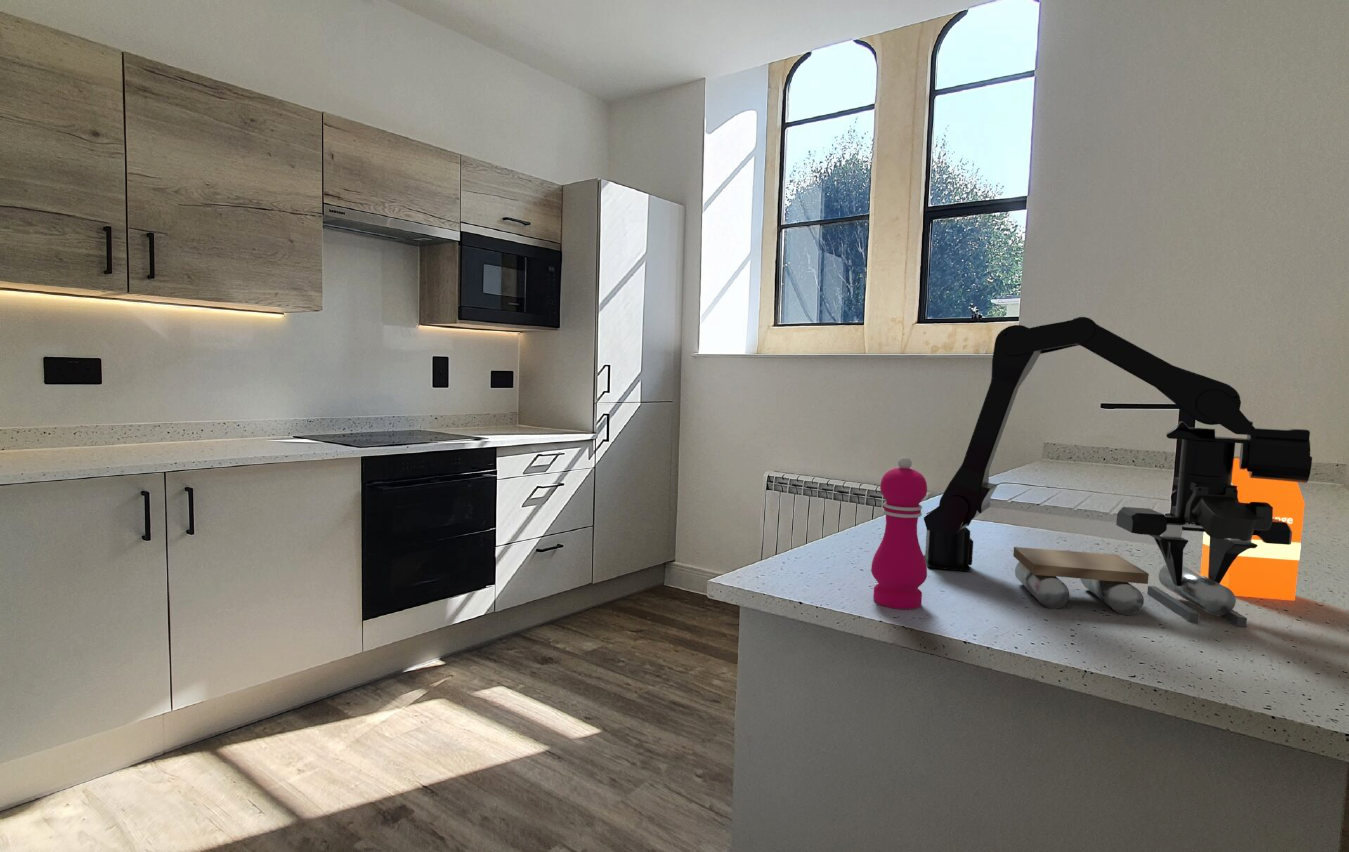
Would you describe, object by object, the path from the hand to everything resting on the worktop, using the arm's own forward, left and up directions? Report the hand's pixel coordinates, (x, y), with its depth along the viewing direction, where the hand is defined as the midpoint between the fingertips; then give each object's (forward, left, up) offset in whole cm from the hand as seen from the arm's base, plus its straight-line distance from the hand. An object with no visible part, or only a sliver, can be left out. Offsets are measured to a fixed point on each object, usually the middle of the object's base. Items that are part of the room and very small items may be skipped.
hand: (1194, 586), depth 95 cm
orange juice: (+13, +13, -3) cm, 19 cm away
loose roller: (0, 0, 0) cm, 0 cm away
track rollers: (-15, 0, -3) cm, 15 cm away
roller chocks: (0, 0, -3) cm, 3 cm away
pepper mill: (-40, -9, -3) cm, 41 cm away
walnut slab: (-15, 0, +1) cm, 15 cm away
